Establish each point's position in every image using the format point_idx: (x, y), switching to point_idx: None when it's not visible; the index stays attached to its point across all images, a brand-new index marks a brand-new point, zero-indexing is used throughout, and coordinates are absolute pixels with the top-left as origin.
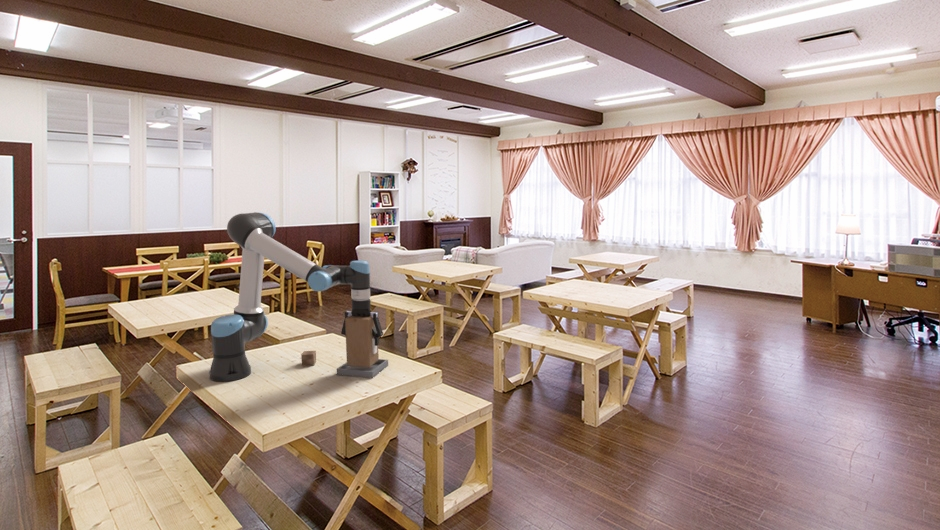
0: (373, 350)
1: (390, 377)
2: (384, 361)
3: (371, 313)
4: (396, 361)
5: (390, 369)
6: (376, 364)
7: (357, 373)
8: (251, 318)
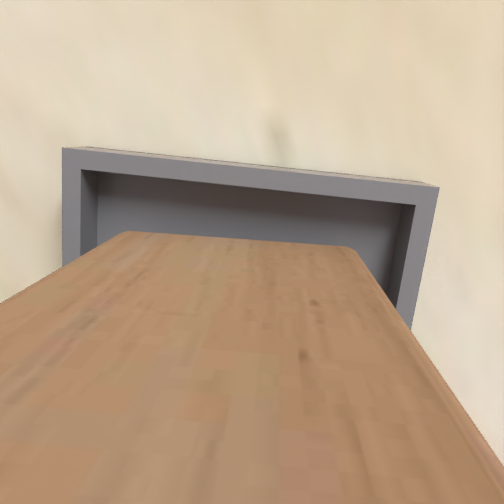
0: None
1: (495, 445)
2: (413, 246)
3: None
4: (478, 47)
5: (461, 279)
6: (316, 209)
7: None
8: None
